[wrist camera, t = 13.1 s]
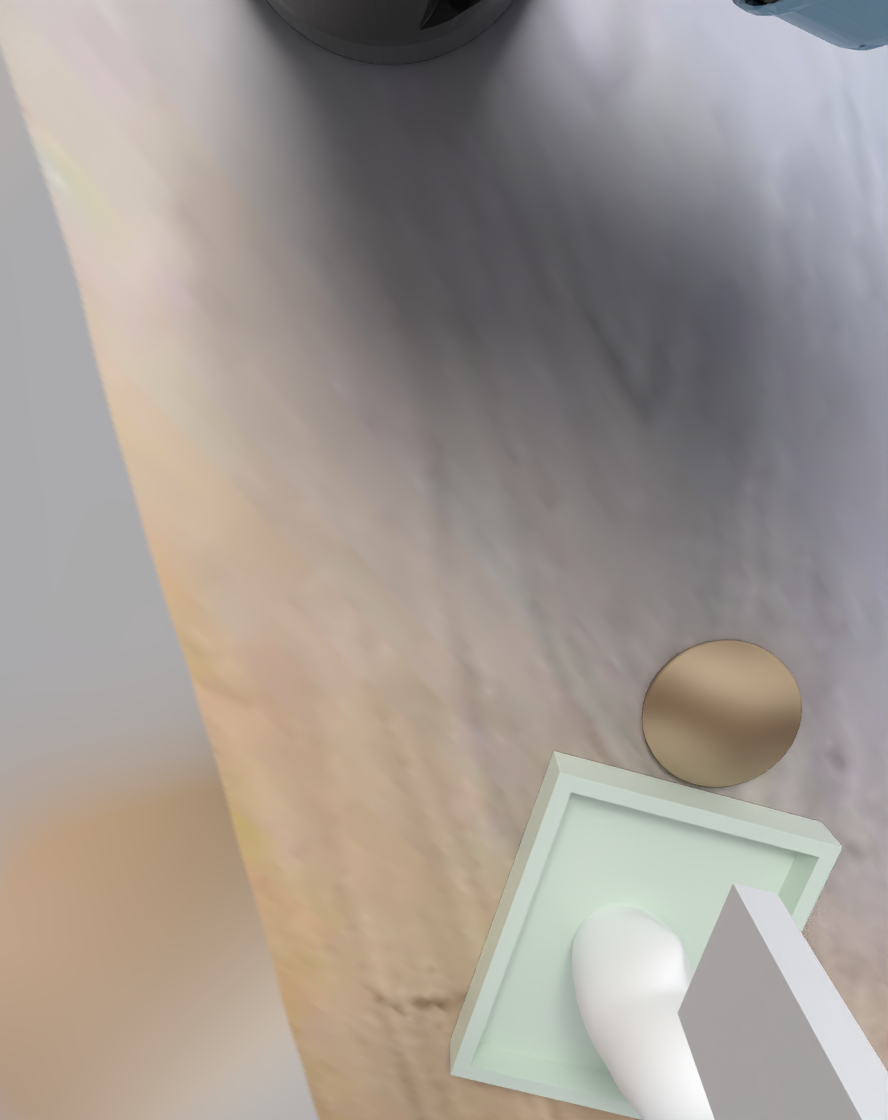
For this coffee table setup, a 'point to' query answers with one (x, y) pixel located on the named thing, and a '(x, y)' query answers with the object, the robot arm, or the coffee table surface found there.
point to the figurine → (638, 1010)
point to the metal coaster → (721, 713)
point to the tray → (606, 880)
